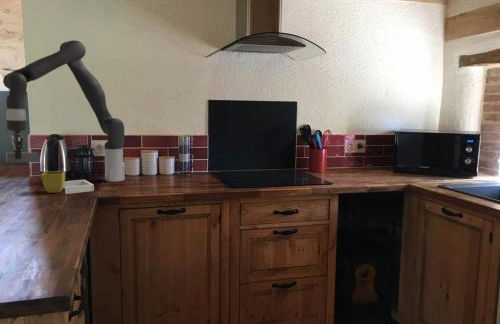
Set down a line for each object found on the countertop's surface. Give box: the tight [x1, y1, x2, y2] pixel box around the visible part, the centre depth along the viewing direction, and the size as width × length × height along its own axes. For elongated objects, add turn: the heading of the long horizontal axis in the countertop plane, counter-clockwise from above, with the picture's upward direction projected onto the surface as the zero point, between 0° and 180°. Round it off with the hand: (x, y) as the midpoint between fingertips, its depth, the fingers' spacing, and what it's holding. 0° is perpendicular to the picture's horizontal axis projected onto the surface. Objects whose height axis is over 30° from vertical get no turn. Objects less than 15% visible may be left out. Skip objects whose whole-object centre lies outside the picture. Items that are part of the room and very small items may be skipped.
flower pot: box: [41, 170, 66, 194], centre depth 187 cm, size 9×9×9 cm
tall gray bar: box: [5, 152, 39, 163], centre depth 182 cm, size 12×3×4 cm, turn 127°
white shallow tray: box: [62, 179, 95, 195], centre depth 193 cm, size 12×15×3 cm
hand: (17, 158), depth 180 cm, fingers closed on tall gray bar, 3 cm apart
